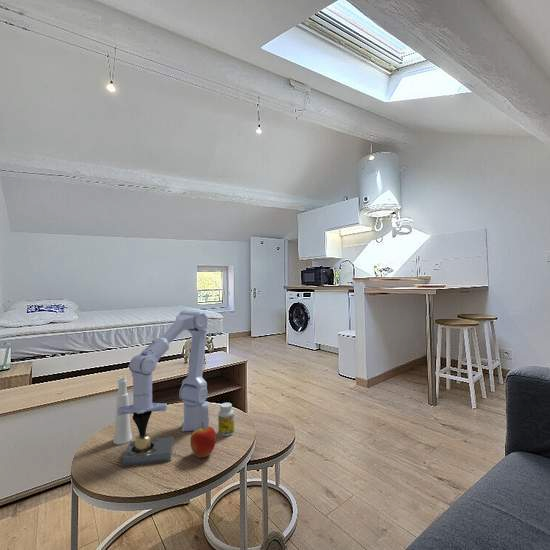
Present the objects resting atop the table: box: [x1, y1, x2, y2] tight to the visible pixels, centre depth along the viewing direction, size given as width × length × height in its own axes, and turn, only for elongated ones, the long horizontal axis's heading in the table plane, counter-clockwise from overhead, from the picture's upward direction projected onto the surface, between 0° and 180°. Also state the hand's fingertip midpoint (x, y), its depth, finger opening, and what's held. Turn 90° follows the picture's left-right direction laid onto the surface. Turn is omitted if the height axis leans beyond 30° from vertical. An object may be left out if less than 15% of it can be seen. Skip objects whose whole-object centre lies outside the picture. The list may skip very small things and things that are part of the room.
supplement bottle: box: [217, 402, 235, 437], centre depth 115 cm, size 6×6×10 cm
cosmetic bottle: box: [112, 376, 133, 445], centre depth 111 cm, size 6×6×22 cm
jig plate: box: [121, 436, 175, 468], centre depth 101 cm, size 14×10×2 cm
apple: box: [189, 423, 217, 458], centre depth 101 cm, size 8×8×10 cm
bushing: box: [134, 432, 152, 454], centre depth 101 cm, size 4×4×6 cm
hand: (142, 435), depth 101 cm, fingers closed
